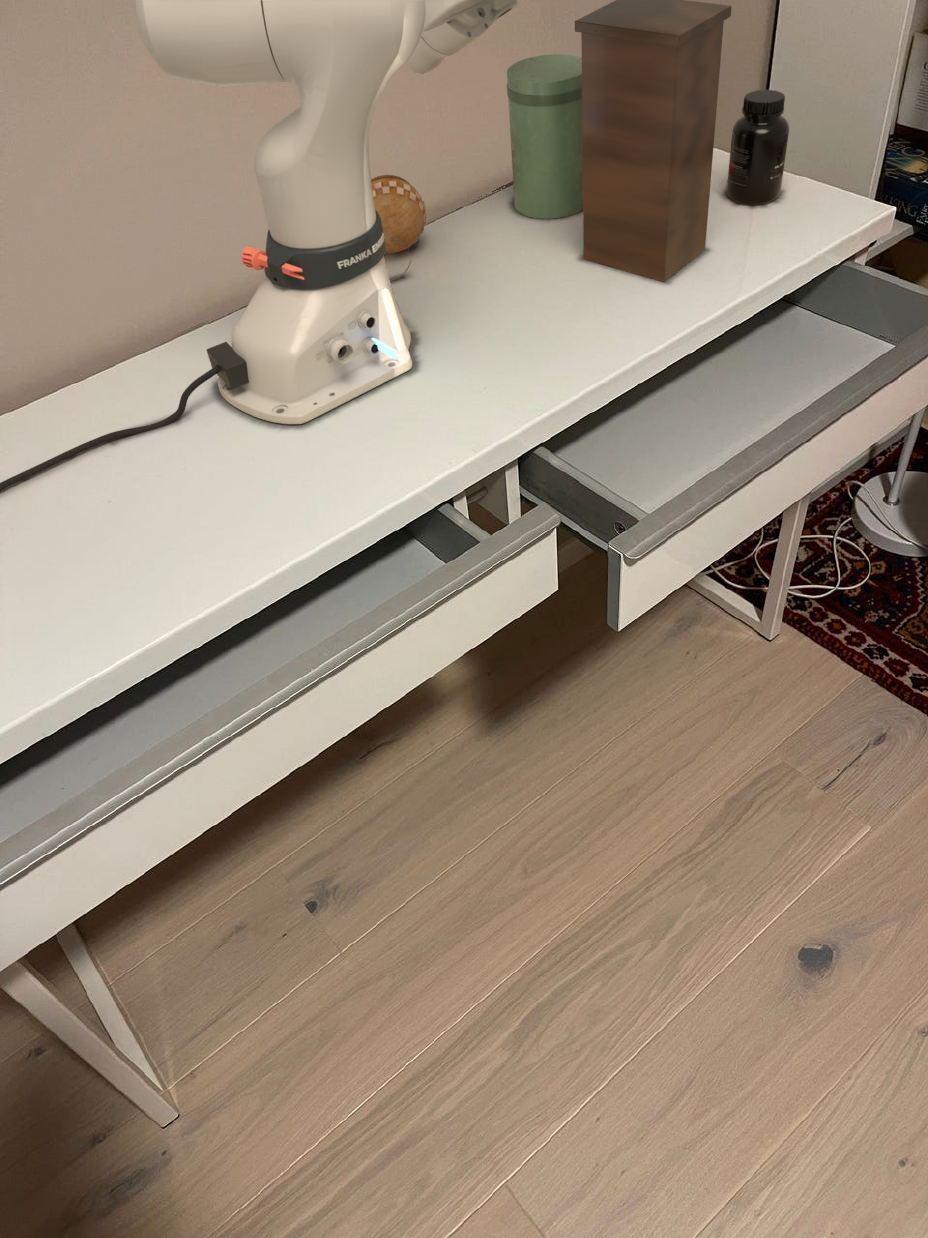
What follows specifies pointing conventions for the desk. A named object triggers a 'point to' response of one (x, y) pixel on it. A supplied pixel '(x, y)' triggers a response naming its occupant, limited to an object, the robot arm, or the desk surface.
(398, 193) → the toy
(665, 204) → the stand
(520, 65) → the tin
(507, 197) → the desk surface
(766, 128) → the supplement bottle
